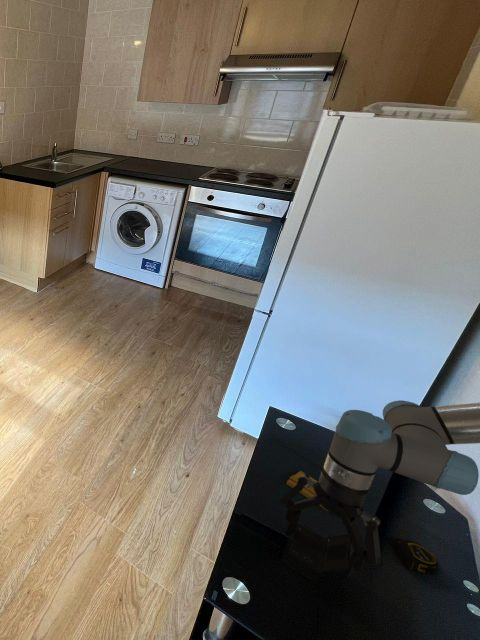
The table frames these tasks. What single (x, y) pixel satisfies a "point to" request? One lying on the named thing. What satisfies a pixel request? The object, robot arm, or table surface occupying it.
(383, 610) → the table surface
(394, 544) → the tape measure
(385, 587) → the table surface
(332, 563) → the dark brown faceted prism
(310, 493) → the block
